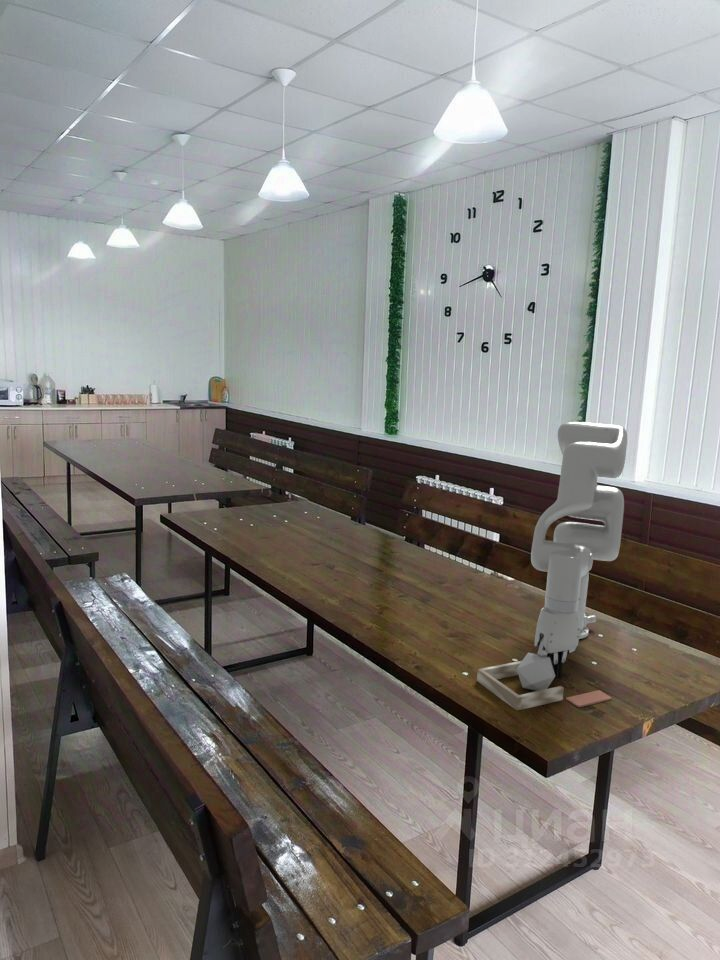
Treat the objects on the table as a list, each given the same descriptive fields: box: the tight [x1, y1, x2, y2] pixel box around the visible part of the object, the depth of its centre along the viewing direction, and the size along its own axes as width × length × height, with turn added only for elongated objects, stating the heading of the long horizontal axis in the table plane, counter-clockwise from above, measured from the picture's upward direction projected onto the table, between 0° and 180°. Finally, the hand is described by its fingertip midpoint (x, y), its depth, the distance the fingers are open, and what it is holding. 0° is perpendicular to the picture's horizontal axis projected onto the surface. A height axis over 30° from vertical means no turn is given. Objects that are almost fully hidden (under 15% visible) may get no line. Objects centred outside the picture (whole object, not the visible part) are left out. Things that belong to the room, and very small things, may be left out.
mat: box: [565, 689, 613, 708], centre depth 163 cm, size 10×4×1 cm, turn 116°
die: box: [517, 652, 555, 692], centre depth 167 cm, size 8×9×10 cm
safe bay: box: [476, 660, 565, 712], centre depth 165 cm, size 13×15×3 cm
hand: (554, 676), depth 170 cm, fingers closed
